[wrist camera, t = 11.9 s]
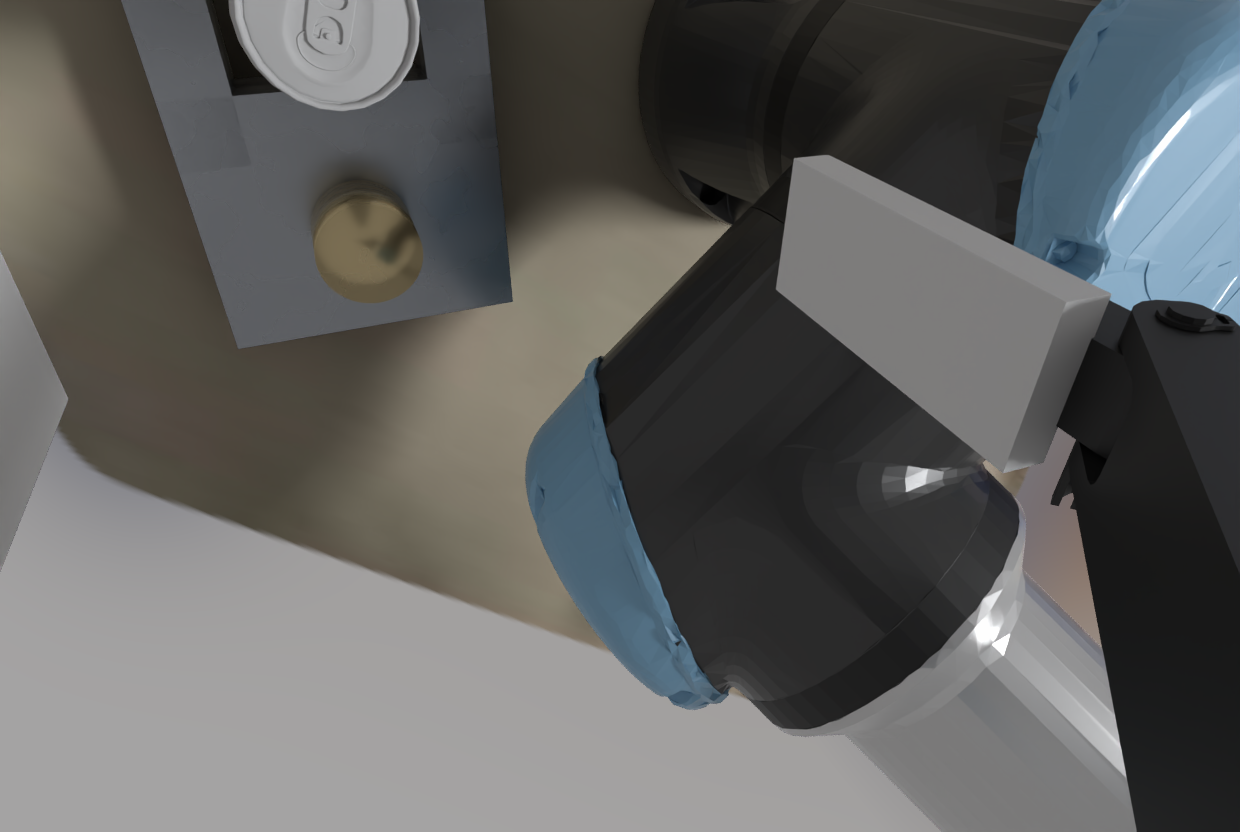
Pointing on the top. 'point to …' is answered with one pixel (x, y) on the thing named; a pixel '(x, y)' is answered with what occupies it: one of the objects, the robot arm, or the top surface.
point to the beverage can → (329, 47)
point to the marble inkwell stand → (335, 179)
